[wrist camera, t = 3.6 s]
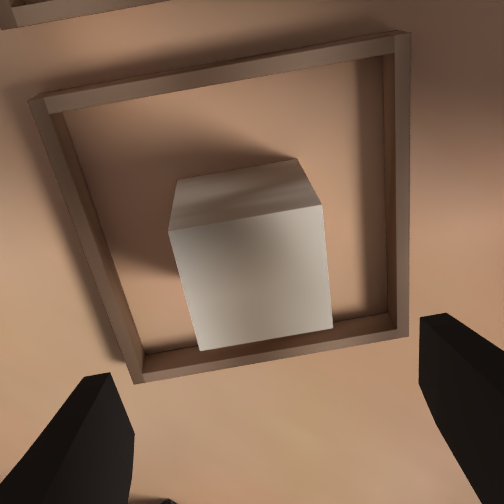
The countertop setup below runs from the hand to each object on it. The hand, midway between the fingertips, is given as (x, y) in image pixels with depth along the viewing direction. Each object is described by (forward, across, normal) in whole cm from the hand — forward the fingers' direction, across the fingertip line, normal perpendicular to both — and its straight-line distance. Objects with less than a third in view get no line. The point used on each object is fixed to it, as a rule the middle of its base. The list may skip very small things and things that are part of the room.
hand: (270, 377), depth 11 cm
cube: (+9, 0, 0) cm, 9 cm away
